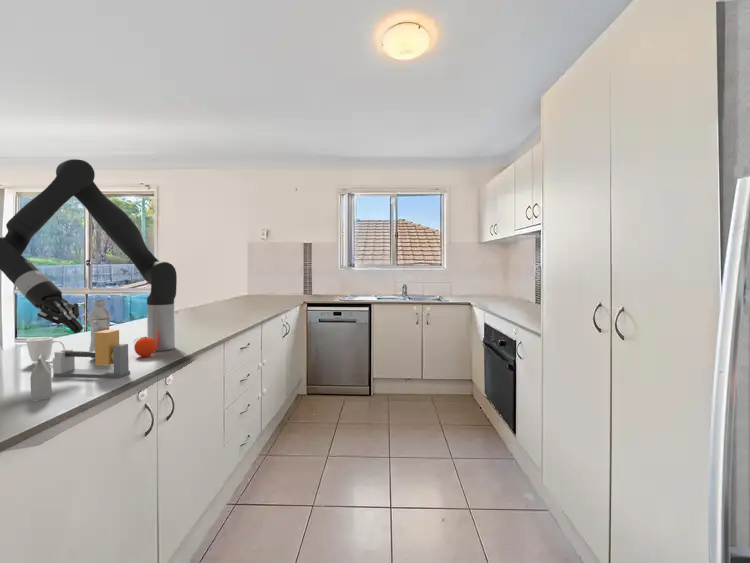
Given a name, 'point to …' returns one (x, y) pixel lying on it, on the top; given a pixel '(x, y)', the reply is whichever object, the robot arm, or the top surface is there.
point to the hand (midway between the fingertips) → (79, 330)
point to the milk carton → (41, 380)
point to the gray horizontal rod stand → (66, 367)
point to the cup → (40, 348)
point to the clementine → (145, 346)
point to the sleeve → (105, 346)
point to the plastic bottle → (98, 321)
